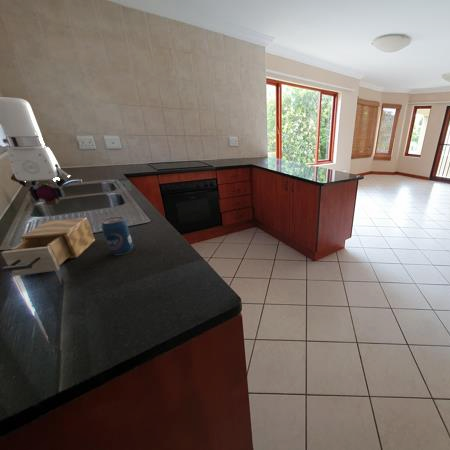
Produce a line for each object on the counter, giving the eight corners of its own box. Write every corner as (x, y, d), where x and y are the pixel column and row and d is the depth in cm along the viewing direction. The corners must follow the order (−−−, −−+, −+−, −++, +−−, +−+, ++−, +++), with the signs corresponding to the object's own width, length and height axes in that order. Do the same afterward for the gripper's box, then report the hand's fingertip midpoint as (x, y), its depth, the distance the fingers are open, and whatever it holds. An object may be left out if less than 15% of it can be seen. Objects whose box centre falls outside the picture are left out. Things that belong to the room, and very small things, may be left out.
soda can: (106, 256, 81) (95, 224, 76) (116, 247, 87) (106, 217, 83) (129, 255, 82) (118, 223, 78) (137, 245, 89) (128, 215, 84)
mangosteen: (37, 206, 78) (28, 185, 75) (47, 201, 82) (39, 182, 79) (57, 205, 79) (49, 185, 76) (65, 200, 84) (58, 181, 81)
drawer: (47, 280, 67) (35, 256, 64) (-1, 287, 65) (-16, 262, 61) (79, 250, 83) (70, 230, 80) (41, 255, 80) (31, 234, 77)
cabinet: (77, 257, 80) (66, 232, 77) (33, 262, 77) (20, 236, 73) (95, 240, 92) (86, 217, 89) (58, 244, 89) (48, 220, 85)
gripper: (-21, 143, 67) (9, 204, 74) (54, 143, 72) (75, 200, 79) (0, 141, 74) (26, 197, 81) (68, 141, 79) (86, 194, 86)
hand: (50, 198), depth 80 cm, fingers closed on mangosteen, 5 cm apart
